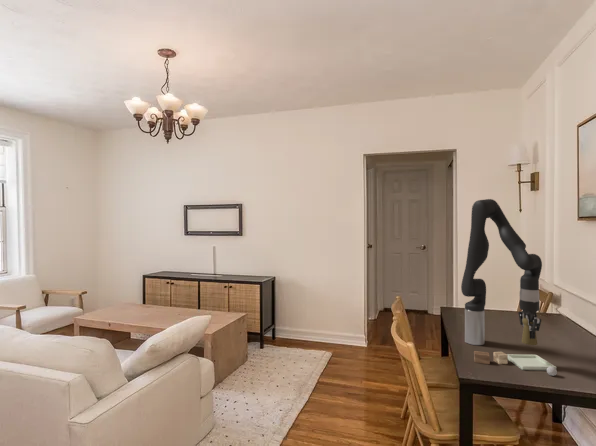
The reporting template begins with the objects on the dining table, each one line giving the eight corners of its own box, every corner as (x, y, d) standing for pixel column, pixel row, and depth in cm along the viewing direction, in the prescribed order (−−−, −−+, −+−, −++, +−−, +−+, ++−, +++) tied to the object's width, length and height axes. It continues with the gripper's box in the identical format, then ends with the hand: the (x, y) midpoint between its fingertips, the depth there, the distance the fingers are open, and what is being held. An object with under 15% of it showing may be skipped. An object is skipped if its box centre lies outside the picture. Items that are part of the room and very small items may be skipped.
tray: (505, 357, 172) (505, 354, 172) (536, 358, 171) (536, 354, 171) (522, 370, 158) (522, 366, 158) (556, 370, 157) (556, 366, 157)
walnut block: (474, 359, 170) (474, 350, 170) (488, 361, 168) (488, 352, 168) (474, 362, 166) (474, 353, 166) (489, 364, 164) (489, 355, 164)
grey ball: (544, 373, 154) (544, 365, 154) (553, 373, 154) (553, 365, 154) (550, 377, 151) (550, 368, 151) (558, 377, 150) (559, 368, 150)
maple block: (493, 360, 168) (493, 352, 168) (501, 360, 169) (501, 351, 169) (499, 364, 164) (499, 355, 164) (507, 363, 165) (507, 354, 165)
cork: (531, 340, 167) (531, 316, 167) (540, 344, 161) (540, 319, 161) (518, 340, 167) (518, 316, 167) (527, 345, 161) (527, 319, 161)
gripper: (512, 295, 171) (512, 332, 171) (530, 302, 157) (530, 343, 157) (528, 295, 171) (528, 333, 171) (548, 302, 157) (548, 343, 157)
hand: (529, 337), depth 164 cm, fingers closed on cork, 3 cm apart
